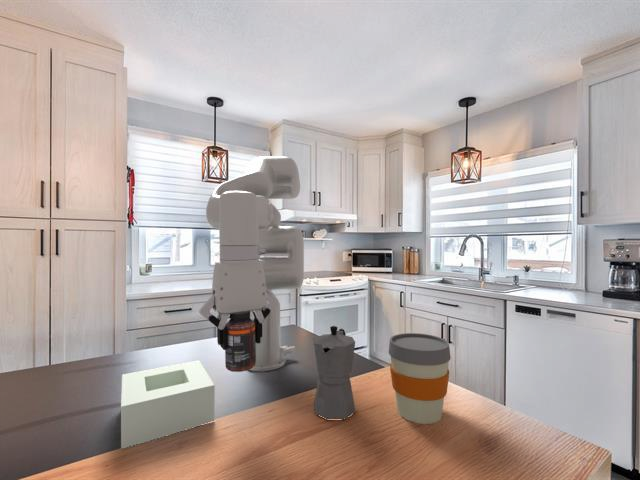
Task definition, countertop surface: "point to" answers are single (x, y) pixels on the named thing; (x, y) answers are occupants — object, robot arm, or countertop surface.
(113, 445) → the countertop surface
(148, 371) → the sage block
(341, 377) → the coffeepot
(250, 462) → the countertop surface
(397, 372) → the reusable coffee cup
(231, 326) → the supplement bottle
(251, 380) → the countertop surface
